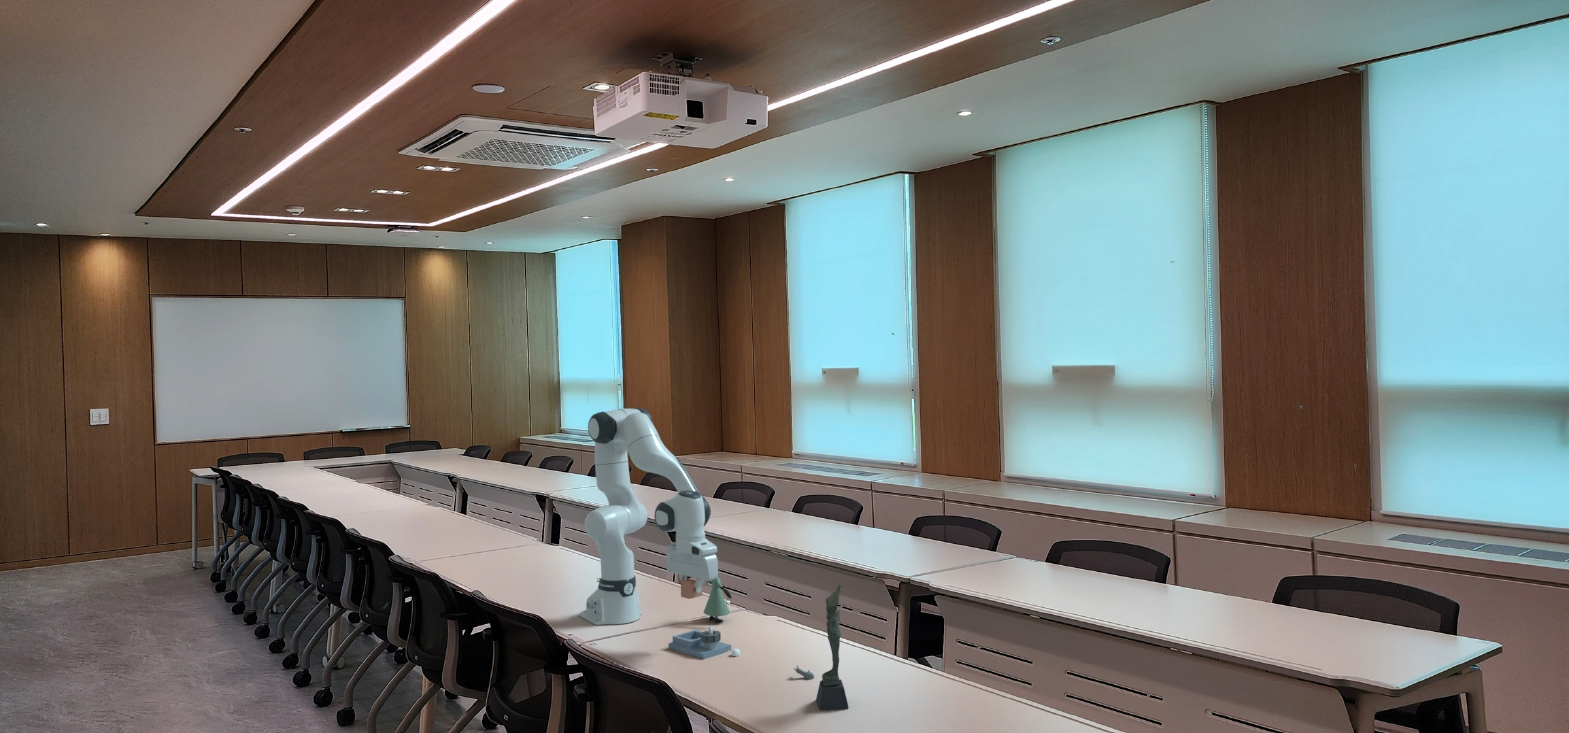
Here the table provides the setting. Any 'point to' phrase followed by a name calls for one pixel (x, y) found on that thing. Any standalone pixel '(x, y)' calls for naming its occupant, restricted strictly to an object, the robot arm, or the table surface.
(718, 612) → the character figurine
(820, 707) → the statue
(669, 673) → the table surface
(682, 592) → the brown small block
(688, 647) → the chassis
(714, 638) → the wheel
